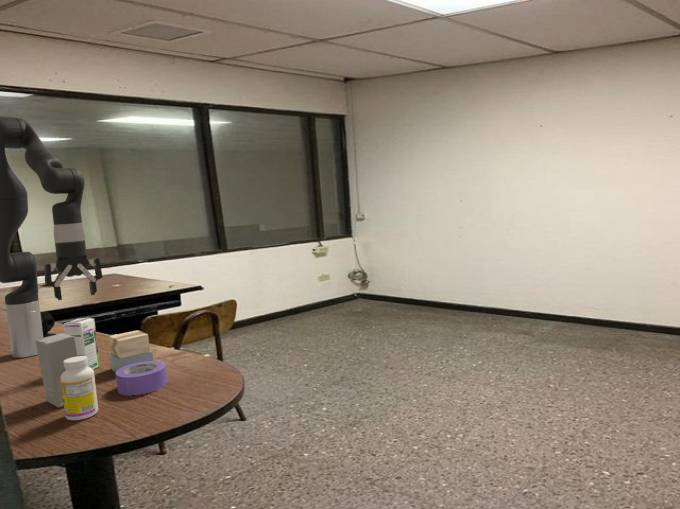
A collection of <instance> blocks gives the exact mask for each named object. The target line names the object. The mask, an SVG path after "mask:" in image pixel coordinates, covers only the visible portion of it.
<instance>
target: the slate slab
mask: <svg viewBox="0 0 680 509" xmlns="http://www.w3.org/2000/svg"><path fill="white" fill-rule="evenodd" d="M108 354H109V363H110V370H111V369H112V371H113V372H114V373H116V372H117V370H119V369H120V368H122V367H124V366H127V365H130V364H134V363H138V362H145V361H154V356H153V351H151V350H150V352H147V353H143V354H139V355H135V356H130V357H126V358H122V359H120V358H118V357H117V356H115V355H113V354H111V352H109V353H108Z"/></svg>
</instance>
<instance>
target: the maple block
mask: <svg viewBox="0 0 680 509" xmlns="http://www.w3.org/2000/svg"><path fill="white" fill-rule="evenodd" d="M109 347H110V353H111V354H113V355H115V356H117V357H118V358H120V359H122V358H126V357H130V356H135V355H139V354H143V353H147V352H150V351H151V349H150V341H149V334H148V333H145V332H143V331H141V330H133V331H128V332H123V333H119V334H118V333H117V334H112V335H109Z"/></svg>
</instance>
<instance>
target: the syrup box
mask: <svg viewBox="0 0 680 509" xmlns="http://www.w3.org/2000/svg"><path fill="white" fill-rule="evenodd" d="M63 330H64V332H63V333H64V334H67V335H70V336H74V339H75V344H76V350H77V355H78V356H86V357H87V359H88V364H87V367H90V368H92V369H93V370H95V369H97V368H99V367H100V366H101V363H100V356H99V354H100V353H99V347H98V340H97V331H96V322H95V318H93V317H83V318H76V319H73V320H71V321H67V322H65V323H63Z"/></svg>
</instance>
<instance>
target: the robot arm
mask: <svg viewBox="0 0 680 509" xmlns="http://www.w3.org/2000/svg"><path fill="white" fill-rule="evenodd" d="M6 149H25V152H24V159H25V162H26V164H27V166H28V167H29V168H30V169H31V170H32V171H33V173H35V174H36V175H37V176H38V180H39V181H40V184H41V188H42V189H43V190H44V191H45V192H47V193H48V194H53V195H57V194H60V195H62V194H67V195H66V196H67V197H66V199H65V200H64V201H61V202H57V203H54V204H53V205H52V207H51V209H52V210H51V212H52V213H51V214H52V222H53V238H54V245H55V246H54V247H55V254H56V255H55V256H56V262H55V263H49V262H48V263H45V264H44V265H43V267H44V284H45V285H46V286H48V287H53V293H54V295H53V296H54V298H55V299H57V300H58V301H63V297H62V287H61V286H60V285H61V283H62V282H63V281H64V280H65V278H66V277H68V278H71V277H75V276H76V277H78V276H82V275H83V276H84V277H86V278H87V279H88V280H89V282H88V284H89V293H90V295H91V296H95V295H96V293H97V291H98V288H97V281H99V280H101V279H102V278H103V273H102V265H101V259H99V258H96V257H94V258H92V259H89V258H88V256H87V246H86V234H85V230H84V226H83V220H82V213H81V212H82V210H81V209H82V208H81V207H82V202H83V200H82V199H83V195H84V190H85V183H86V182H85V177H84V175H83V173H82V172H81V170H79V169H77V168H73V167H64V166H63V163H62V162H61V160H60V159H59V158H58V157H57V156H56V155H55V154H54V153H53V152H51V151H50V150H49V149H48V148H47V147H46V145H44V143H43V141H42V140H41V139H40V137H39V135H38V133H36V130H35V129H34V128H33V127H32V125H31V124H30V123H29V122H28V121H27V120H26V119H23V118H19V117H11V116H0V283H1V284H10V283H16V282H22V283H21V284H20V286H18V288H16V289H15V290H12V291H11V292H9V293H7V294H6V295H5V296H4V304H5V310H6V312H5V313H6V317H7V318H6V319H7V326H8V333H9V334H8V335H9V342H10V350H11V357H12V358H15V359H16V358H17V359H19V358H28V357H29V358H30V357H33V356H38V352H37V347H36V340H37V339H41V338H43V331H42V323H41V314H40V313H41V309H40V300H39V299H40V298H39V283H38V268H37V266H38V265H37V260H36V258H35V255H34V254H33V253H32V252H30V251H21V252H11V246H12V243H13V239H14V237H15V236H16V234H17V232H18V230H19V229H20V228H21V227H22V225H23V224H24V222H25V219H26V218H27V216H28V214H29V201H28V199H29V198H28V197H29V196H28V191H27V189H26V187H25V186H24V184H23V182H22V181H21V180H20V179H19V177H18V176H17V175H16V173H15V172H14V171H13V169H12V168H11V166H10V164H9V162H8V159H7V155H6ZM89 265H91V266H92V267H94V274H95V275H93V274H92V273H91V272H90V271H89V270H88V267H89ZM55 268H56V269H57V270H58V271H59V272H58V274H57V275H56V278H55V279H54V281H52V280H53V279H52V272H54V270H55Z"/></svg>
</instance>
